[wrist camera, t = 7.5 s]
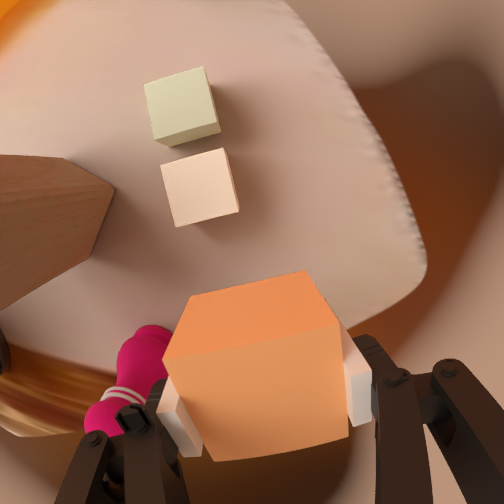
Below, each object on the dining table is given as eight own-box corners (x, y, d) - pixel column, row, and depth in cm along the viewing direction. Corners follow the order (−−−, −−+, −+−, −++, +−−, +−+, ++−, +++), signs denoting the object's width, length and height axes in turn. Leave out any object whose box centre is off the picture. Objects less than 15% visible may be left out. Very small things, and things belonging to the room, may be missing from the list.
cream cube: (187, 219, 33) (175, 227, 27) (174, 168, 31) (160, 165, 25) (239, 206, 32) (238, 211, 27) (226, 154, 31) (223, 147, 25)
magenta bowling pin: (146, 310, 35) (74, 418, 15) (192, 343, 36) (158, 469, 17) (122, 345, 36) (55, 450, 17) (165, 375, 37) (124, 492, 18)
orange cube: (221, 385, 16) (214, 461, 11) (190, 296, 15) (161, 359, 9) (320, 364, 16) (348, 436, 10) (304, 270, 15) (339, 323, 9)
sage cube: (169, 147, 31) (154, 140, 25) (159, 99, 29) (143, 84, 24) (221, 132, 31) (216, 121, 25) (210, 85, 29) (203, 66, 23)
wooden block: (61, 155, 30) (-61, 150, 11) (120, 187, 31) (-3, 201, 12) (38, 225, 32) (-75, 263, 12) (91, 260, 33) (-17, 329, 14)
